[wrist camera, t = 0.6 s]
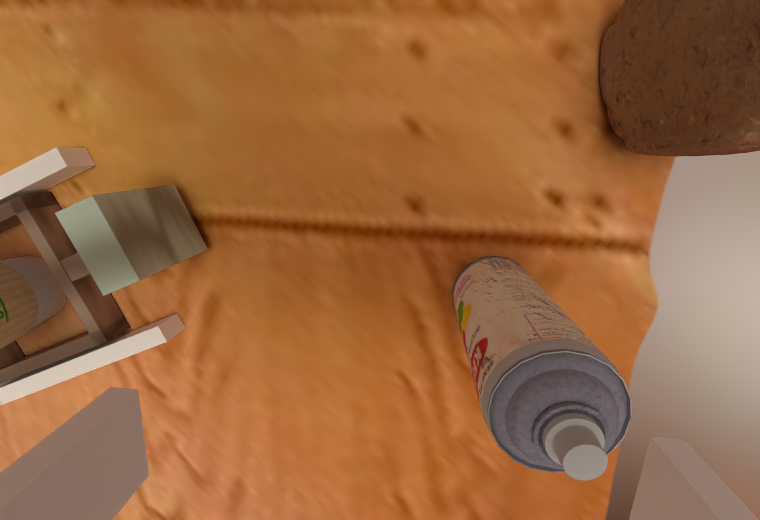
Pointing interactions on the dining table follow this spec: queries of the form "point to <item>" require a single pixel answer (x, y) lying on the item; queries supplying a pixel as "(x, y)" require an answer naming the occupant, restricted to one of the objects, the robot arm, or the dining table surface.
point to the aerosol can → (538, 373)
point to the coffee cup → (26, 296)
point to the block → (684, 76)
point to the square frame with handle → (99, 257)
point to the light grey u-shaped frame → (33, 181)
